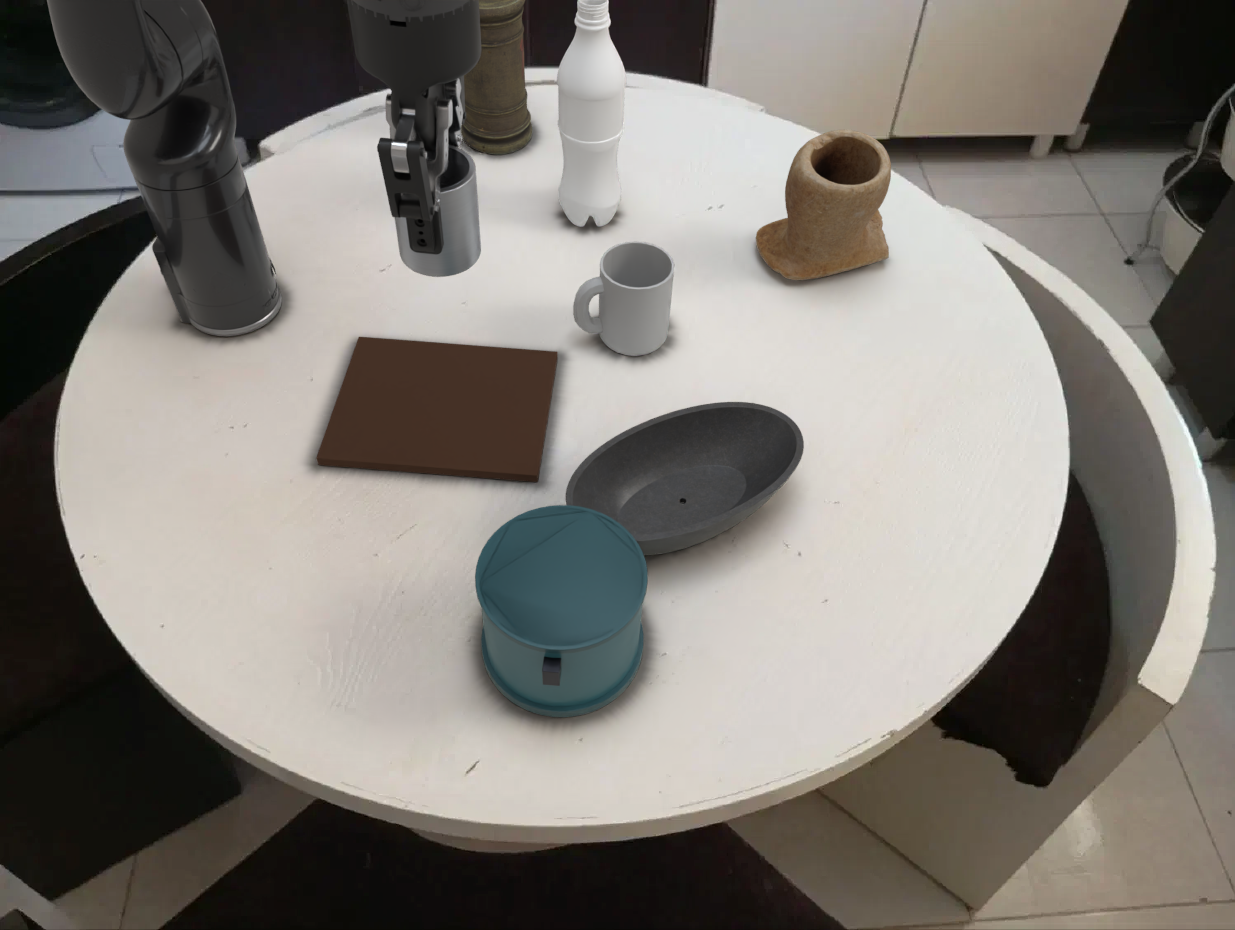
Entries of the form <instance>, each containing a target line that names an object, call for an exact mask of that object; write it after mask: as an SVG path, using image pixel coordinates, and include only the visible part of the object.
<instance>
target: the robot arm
mask: <svg viewBox="0 0 1235 930" xmlns="http://www.w3.org/2000/svg"><path fill="white" fill-rule="evenodd" d="M46 2H47V7H48V12H49V16H50V21H51V24H52V30H53V34H54V37H55V40H56V44H57V47H58V50H59V52H60V53H59V54H60V56H61V58H62V60H63V62H64V64H65V66H66V68H67V70H68V72H69V74H70V76H71V77H72V79H73V81H74V82H75V83H76V85H77V86H78V88H79V89H80V90H81V91H82V93H84V95H85V96H86V97H87V98H88V99H89V100H90V101H91V102H92V103H94V105H96V106H97V107H98V108H99V109H101V110H102V111H104V112H105V113H107V114H109V115H111V116H113V117H116V118H117V119H122V120H129V123H128V125H127V128H126V130H125V132H124V135H123V143H122V145H123V146H122V147H123V152H124V153H123V154H124V157H125V159H126V162H127V165H128V167H129V169H130V172H131V174H132V177H133V179H134V182H135V184H136V187H137V189H138V192H139V194H140V196H141V199H142V202H143V204H144V207H145V209H146V212H147V214H148V217H149V220H150V222H151V223H152V227H153V229H154V232H155V234H156V238H155V239H154V241H153V243H152V246H151V249H152V253H153V254H154V258H155V260H156V262H157V265H158V267H159V271H160V274H161V276H162V277H163V280H164V282H165V285H166V287H167V290H168V291H169V292H168V293H169V294H170V296H171V299H172V301H173V304H174V307H175V309H176V312H177V314H178V316H179V319H180V321H181V323H184V324H185V323H186V324H191V325H192V326H193V327H194V328H195V329H197V330H198V331H200V332H202V333H204V334H207V335H211V336H216V337H235V336H241V335H245V334H248V333H251V332H254V331H256V330H258V329H261V328H262V327H263V326H266V325H267V324H268V323H270V322H271V321H273V319H274V318H275V317H276V315H277V314H278V313H279V311H280V309H281V307H282V303H283V302H282V301H283V298H282V297H283V296H282V293H281V290H280V288H279V287H280V286H279V285H278V282H277V279H276V277H278V274H277V272H276V268H275V266H274V264H273V262H272V260H271V258H270V256H269V253H268V250H267V249H268V248H267V247H266V246H267V245H266V243H265V238H264V236H263V233H262V229H261V225H260V222H259V219H258V216H257V212H256V208H255V206H254V202H253V199H252V196H251V191H250V189H249V186H248V185H249V184H248V182H247V179H246V176H245V172H244V169H243V165H242V162H241V158H240V155H239V152H238V148H237V145H236V142H235V134H236V130H237V129H236V128H237V112H236V106H235V101H234V98H233V93H232V90H231V85H230V80H229V76H228V72H227V67H226V63H225V60H224V55H223V51H222V46H221V43H220V40H219V36H218V33H217V31H216V28H215V25H214V23H213V20H212V18H211V15H210V14H209V12H208V10H207V7H205V4H204V3H203V2H202V0H46ZM346 4H347V10H348V16H349V23H350V29H351V35H352V36H351V37H352V41H353V48H354V54H355V58H356V60H357V62H358V64H359V65H360V67H361V68H362V69H363V70H364V71H365V72H366V73H368V74H369V75H370V76H371V77H373V78H376V79H378V80H379V81H380V82H382V83H383V84H385V85H386V86H387V87H388V88H389V89H390V91H391V93H387V94H386V96H385V104H384V105H385V121H386V123H387V124H388V125H389V137H379V140H378V143H377V146H376V150H377V153H378V154H377V155H378V160H379V163H380V164H379V165H380V168H381V172H382V177H383V183H384V186H385V187H384V188H385V191H386V195H387V200H388V205H389V211H390V214H391V217H392V218H394V217H397V218H401V217H403V218H406V223H407V231H408V238H409V245H410V248H411V250H412V251H414V252H416V253H425V254H436V255H437V254H440V253H441V252H442V249H443V246H444V239H443V229H442V219H441V209H440V206H441V198H440V175H442V174H443V173H444V172H445V171H446V170H447V168H448V145H452V146H455V147H457V148H460V147H461V143H462V141H463V136H462V132H461V126H462V125H463V124H464V122H465V120H466V112H465V92H464V75H466V74H467V73H468V72H470V71H471V70H472V69H473V68H474V67H475V65H476V64H477V62H478V61H479V58H480V55H481V32H480V14H479V0H346ZM431 151H436V158H435V160H430V159H426V158H427V152H431ZM275 276H276V277H275Z"/></svg>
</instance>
